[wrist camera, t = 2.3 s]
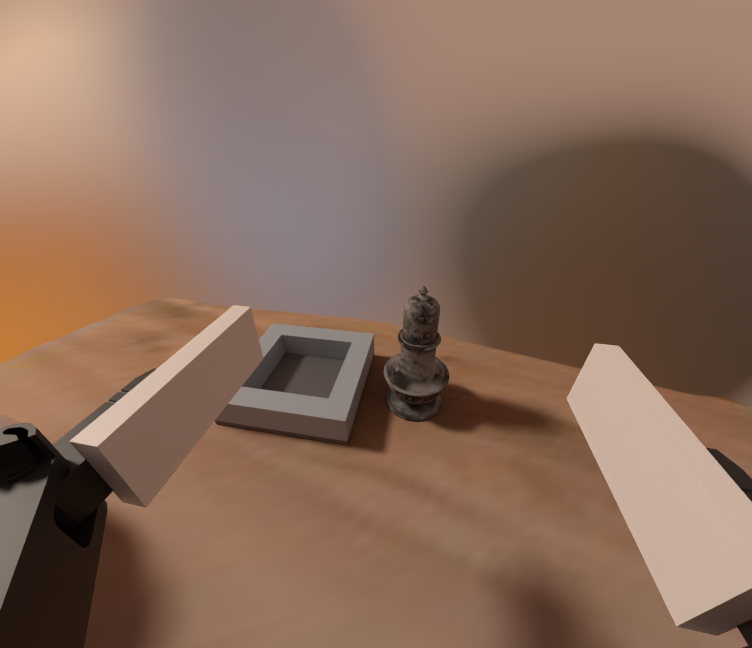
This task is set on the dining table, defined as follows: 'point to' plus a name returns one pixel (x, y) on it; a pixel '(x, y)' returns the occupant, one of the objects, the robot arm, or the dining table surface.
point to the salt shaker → (417, 362)
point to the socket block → (304, 384)
